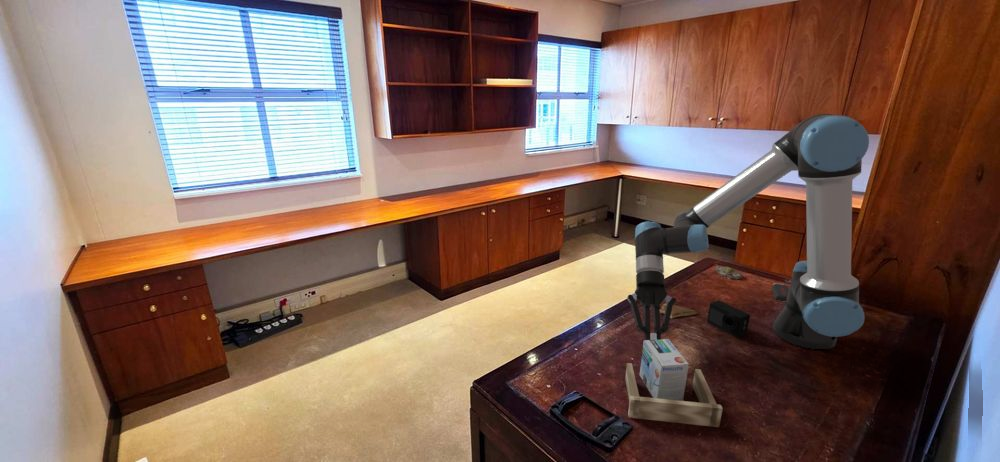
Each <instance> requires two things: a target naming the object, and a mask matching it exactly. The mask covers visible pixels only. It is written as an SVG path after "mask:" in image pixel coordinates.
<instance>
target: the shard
mask: <svg viewBox="0 0 1000 462" xmlns="http://www.w3.org/2000/svg"><path fill="white" fill-rule="evenodd" d="M666 306H667V304H666V303H663V304H662V305H661V307H660V314H663V315H664V314H665V309H666ZM698 312H699V310H694V309H689V308H687V307H683V306H682V307H681V306H678V305H674V304H673V306H672V311H671V316H670V319H674V318H678V317H679V318H680V317H687V316H693V315H696V314H697V313H698Z"/></svg>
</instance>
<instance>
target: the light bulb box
mask: <svg viewBox="0 0 1000 462" xmlns="http://www.w3.org/2000/svg"><path fill="white" fill-rule="evenodd" d="M641 352H642V353H641V361H640V369H639V376H640V378H641V380H642V382H643V383H644V385H645V386H646V389H647V390H648V392H649V394H650V395H651V398H658V399H668V400H678V401H684V397H685V389H686V385H687V378H688V371H689V366H690V363H689V362H688V361H687V360H686V359H685V357H684V356H683V355H682V354H681V353H680V352H679V350H678V349H677V347H675V345H674V344H673V343H672V341H671V340H670V339H669V338H661V339H660V340H645V339H644V340H643V344H642V351H641Z"/></svg>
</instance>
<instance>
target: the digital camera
mask: <svg viewBox="0 0 1000 462" xmlns="http://www.w3.org/2000/svg"><path fill="white" fill-rule="evenodd" d="M708 307H709V308H708V314H707V319H706V322H707V323H708V324H709V325H711V326H713V327H716V328H717V329H719V330H721V331H722V330H723V332H724V331H725V333H726V332H727V333H726V334H728V333H729V334H728V335H730V336H732V337H734V338H735V339H738V338H742V337H744V336H746V335H747V332H748V327H749V323H750V318H751V315H750V314H749V313H748V312H746V311H743V310H741V309H738V307H737V308H736V307H734V306H732V305H730V304H728V303H727V302H724V301H721V300H719V299H718V300H715V301H713V302H712V301H711V302H710V303H709V306H708Z"/></svg>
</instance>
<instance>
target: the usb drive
mask: <svg viewBox="0 0 1000 462" xmlns="http://www.w3.org/2000/svg"><path fill="white" fill-rule="evenodd" d="M789 288H790V287H788V286H787V285H786V284H784V283H783V284H782V283H775V282H774V283H773V284H772V286H771V289H772V291H771V293H772V292H773V294H774V296H773V298H774V297H775V299H774V301H775V300H780V301H787V297H788V292H789ZM773 294H772V295H773Z"/></svg>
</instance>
